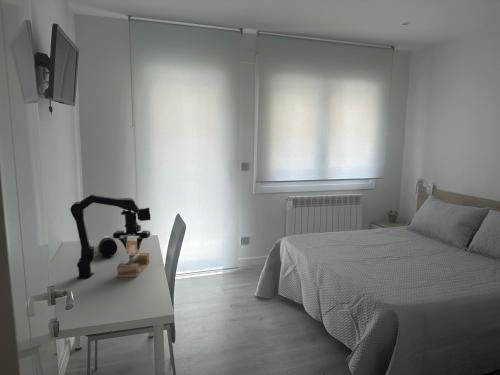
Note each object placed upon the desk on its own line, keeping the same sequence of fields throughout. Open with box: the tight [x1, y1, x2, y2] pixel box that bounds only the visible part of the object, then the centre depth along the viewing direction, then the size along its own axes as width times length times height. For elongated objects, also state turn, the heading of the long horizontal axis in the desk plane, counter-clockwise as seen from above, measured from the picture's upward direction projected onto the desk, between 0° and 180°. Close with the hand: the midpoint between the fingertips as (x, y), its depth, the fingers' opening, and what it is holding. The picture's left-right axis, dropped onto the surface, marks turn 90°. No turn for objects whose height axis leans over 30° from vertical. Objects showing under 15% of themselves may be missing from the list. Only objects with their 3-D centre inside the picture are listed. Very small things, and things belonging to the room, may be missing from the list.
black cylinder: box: [98, 235, 118, 258], centre depth 227 cm, size 10×34×10 cm, turn 23°
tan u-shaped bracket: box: [125, 240, 141, 255], centre depth 191 cm, size 6×3×6 cm, turn 87°
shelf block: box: [116, 252, 150, 278], centre depth 192 cm, size 20×10×7 cm, turn 177°
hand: (132, 249), depth 191 cm, fingers closed on tan u-shaped bracket, 6 cm apart
